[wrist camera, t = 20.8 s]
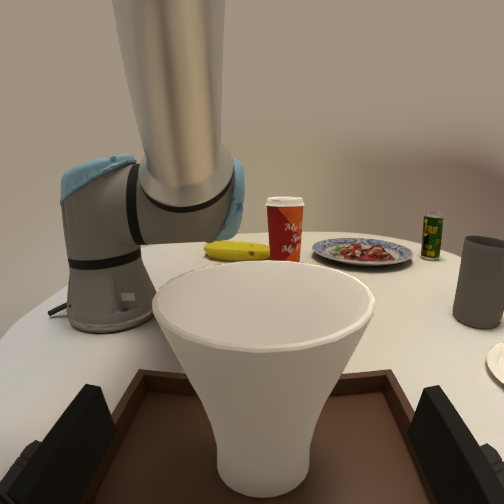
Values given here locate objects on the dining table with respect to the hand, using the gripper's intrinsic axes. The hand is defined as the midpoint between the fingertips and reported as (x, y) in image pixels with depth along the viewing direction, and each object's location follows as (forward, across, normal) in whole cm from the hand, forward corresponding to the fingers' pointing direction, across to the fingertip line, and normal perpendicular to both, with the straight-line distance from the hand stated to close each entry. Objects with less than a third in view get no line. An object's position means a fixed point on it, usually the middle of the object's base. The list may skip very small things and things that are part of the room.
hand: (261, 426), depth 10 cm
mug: (+28, +35, -11) cm, 46 cm away
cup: (+5, 0, -10) cm, 11 cm away
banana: (+66, -7, -11) cm, 67 cm away
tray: (+5, 0, -11) cm, 12 cm away
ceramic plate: (+63, +24, -11) cm, 68 cm away
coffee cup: (+55, +4, -11) cm, 56 cm away
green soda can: (+61, +43, -11) cm, 76 cm away
